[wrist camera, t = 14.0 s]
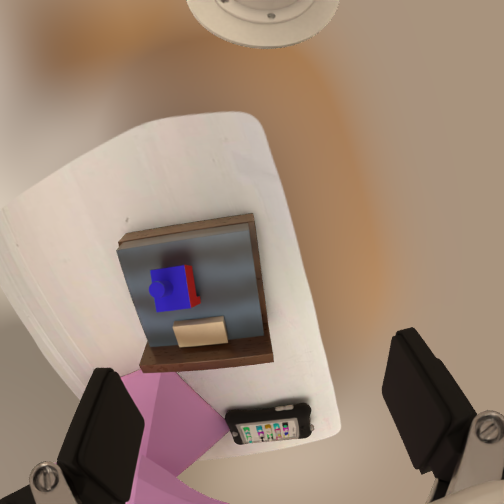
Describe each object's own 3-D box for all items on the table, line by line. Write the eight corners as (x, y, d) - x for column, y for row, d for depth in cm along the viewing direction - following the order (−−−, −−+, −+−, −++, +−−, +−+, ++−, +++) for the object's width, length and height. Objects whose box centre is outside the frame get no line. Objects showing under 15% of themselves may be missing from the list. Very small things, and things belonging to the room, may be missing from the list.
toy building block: (195, 266, 34) (176, 263, 26) (201, 303, 34) (184, 312, 26) (165, 270, 34) (139, 269, 26) (170, 307, 34) (146, 316, 26)
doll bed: (125, 233, 37) (98, 264, 28) (253, 213, 36) (258, 240, 28) (156, 330, 42) (142, 373, 34) (267, 317, 42) (273, 362, 34)
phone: (223, 406, 50) (222, 425, 46) (308, 392, 49) (313, 411, 45) (235, 436, 54) (236, 454, 50) (311, 424, 54) (315, 442, 50)
